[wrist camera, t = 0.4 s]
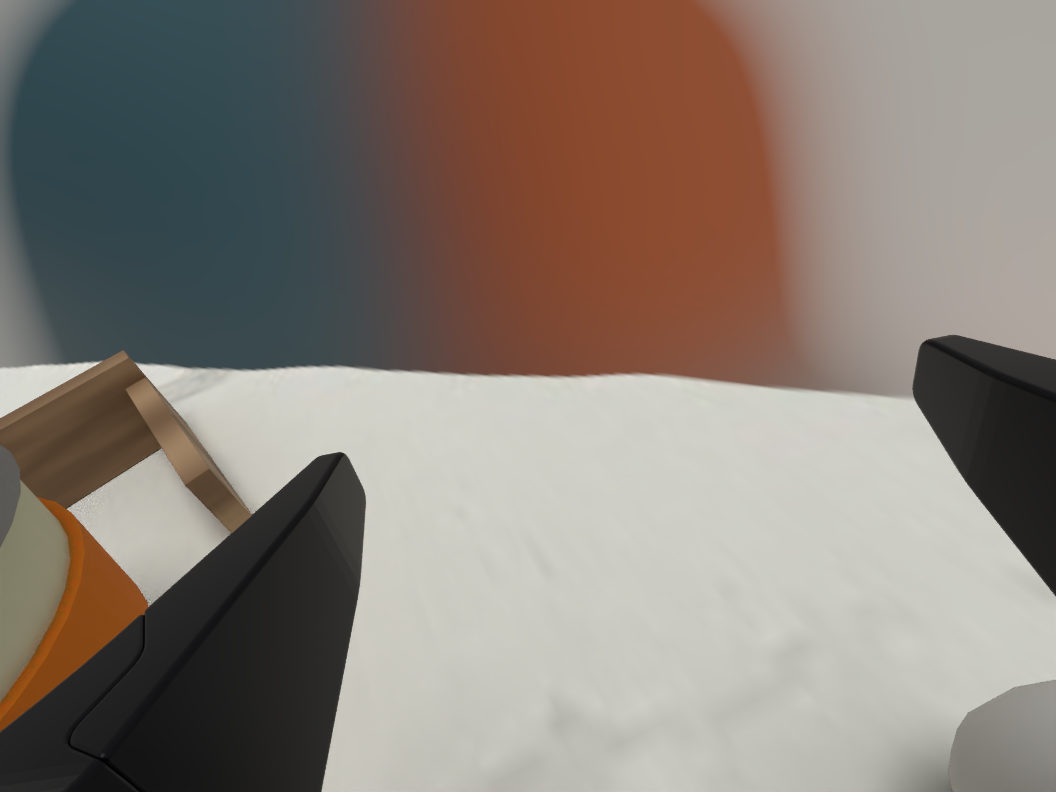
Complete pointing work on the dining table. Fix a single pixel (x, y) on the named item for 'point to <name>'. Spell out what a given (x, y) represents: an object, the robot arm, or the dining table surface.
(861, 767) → the dining table surface
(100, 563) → the reusable coffee cup
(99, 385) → the holder
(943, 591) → the dining table surface
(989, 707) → the donut
